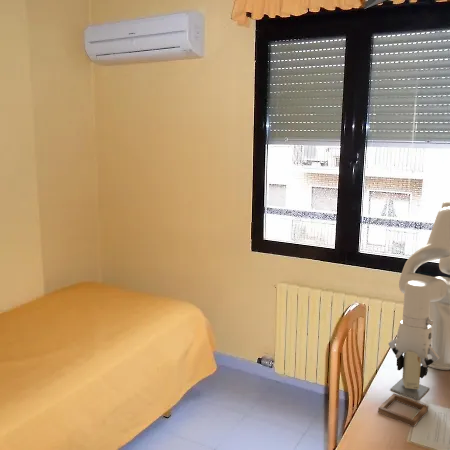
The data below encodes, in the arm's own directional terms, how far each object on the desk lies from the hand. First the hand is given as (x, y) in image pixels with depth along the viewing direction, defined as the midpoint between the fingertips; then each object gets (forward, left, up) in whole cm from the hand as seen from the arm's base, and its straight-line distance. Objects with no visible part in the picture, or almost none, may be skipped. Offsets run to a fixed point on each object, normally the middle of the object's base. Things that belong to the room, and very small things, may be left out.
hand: (411, 372), depth 153 cm
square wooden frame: (+14, +4, -6) cm, 15 cm away
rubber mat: (0, 0, -6) cm, 6 cm away
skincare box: (0, 0, -4) cm, 4 cm away
